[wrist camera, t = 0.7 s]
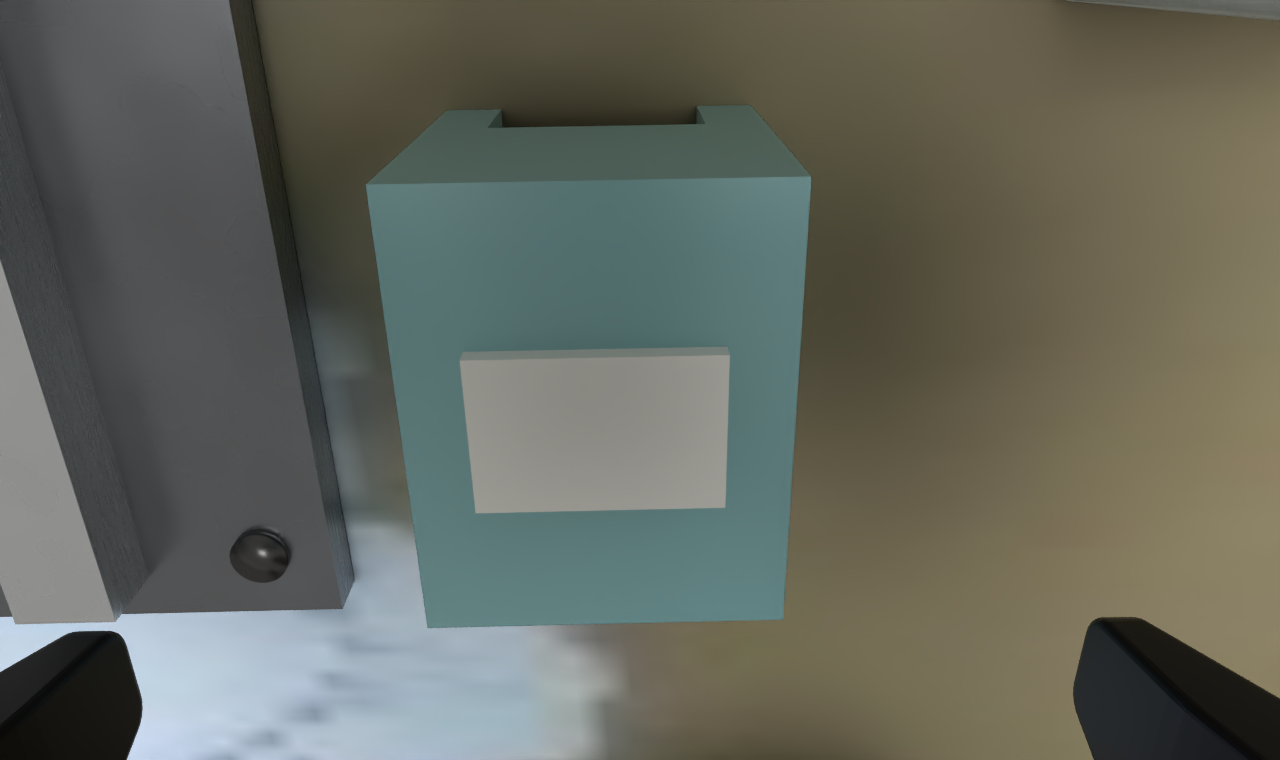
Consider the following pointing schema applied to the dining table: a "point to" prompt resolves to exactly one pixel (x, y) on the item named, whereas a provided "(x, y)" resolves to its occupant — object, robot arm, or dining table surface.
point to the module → (595, 365)
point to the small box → (1205, 6)
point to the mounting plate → (153, 325)
